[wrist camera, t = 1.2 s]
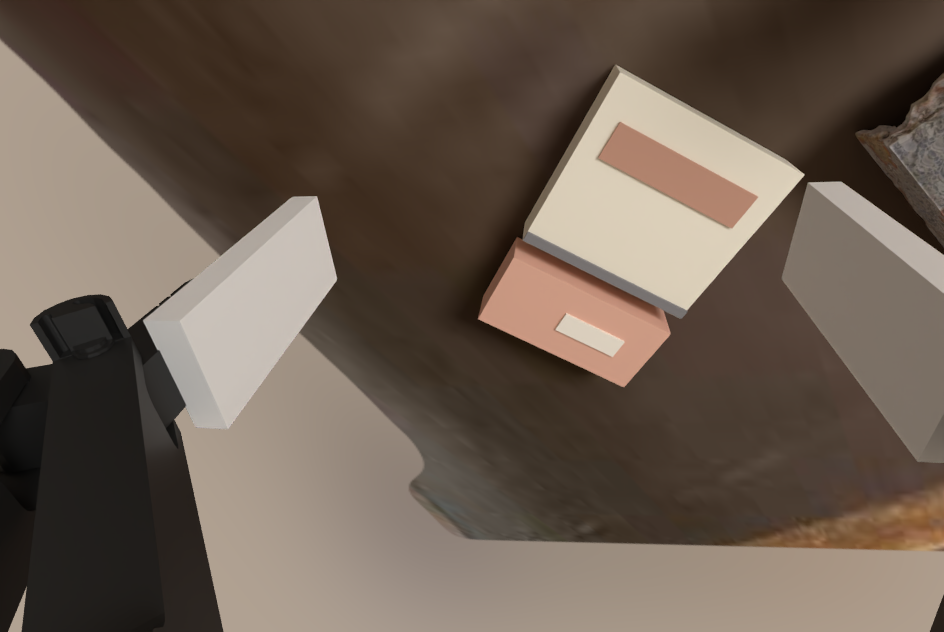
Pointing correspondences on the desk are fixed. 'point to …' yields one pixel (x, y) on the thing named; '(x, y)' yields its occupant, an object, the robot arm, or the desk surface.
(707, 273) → the cream block with stripe
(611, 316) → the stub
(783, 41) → the desk surface
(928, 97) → the geological specimen
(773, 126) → the desk surface
